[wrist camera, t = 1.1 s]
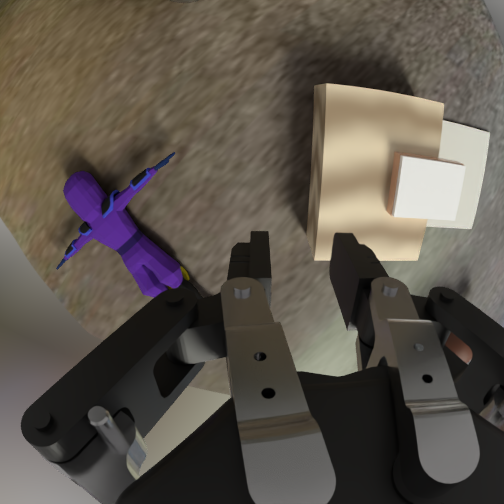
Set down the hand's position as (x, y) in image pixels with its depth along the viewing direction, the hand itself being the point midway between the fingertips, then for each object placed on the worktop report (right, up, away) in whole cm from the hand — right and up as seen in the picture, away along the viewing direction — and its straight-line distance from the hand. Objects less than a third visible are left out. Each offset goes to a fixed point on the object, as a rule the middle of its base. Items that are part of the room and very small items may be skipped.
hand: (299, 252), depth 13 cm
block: (+12, +11, +25) cm, 30 cm away
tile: (+18, +8, +18) cm, 27 cm away
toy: (-18, +1, +31) cm, 36 cm away
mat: (+27, +11, +24) cm, 38 cm away
